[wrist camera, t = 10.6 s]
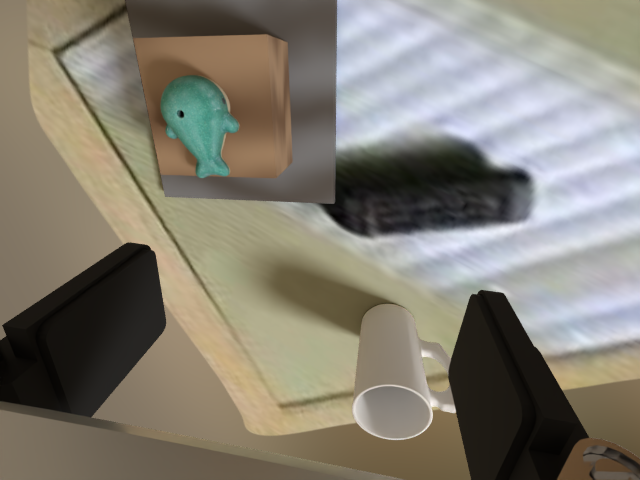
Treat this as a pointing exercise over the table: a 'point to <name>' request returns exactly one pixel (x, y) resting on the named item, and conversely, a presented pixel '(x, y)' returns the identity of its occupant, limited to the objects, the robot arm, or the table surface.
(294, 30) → the display plinth
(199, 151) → the whale figurine
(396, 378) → the mug
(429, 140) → the table surface
